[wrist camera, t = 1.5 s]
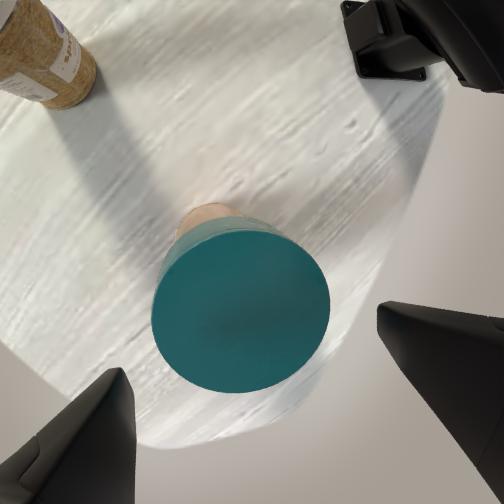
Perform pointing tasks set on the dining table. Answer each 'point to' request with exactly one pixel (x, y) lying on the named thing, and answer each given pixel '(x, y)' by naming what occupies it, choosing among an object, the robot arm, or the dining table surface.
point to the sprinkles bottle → (42, 56)
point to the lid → (238, 306)
